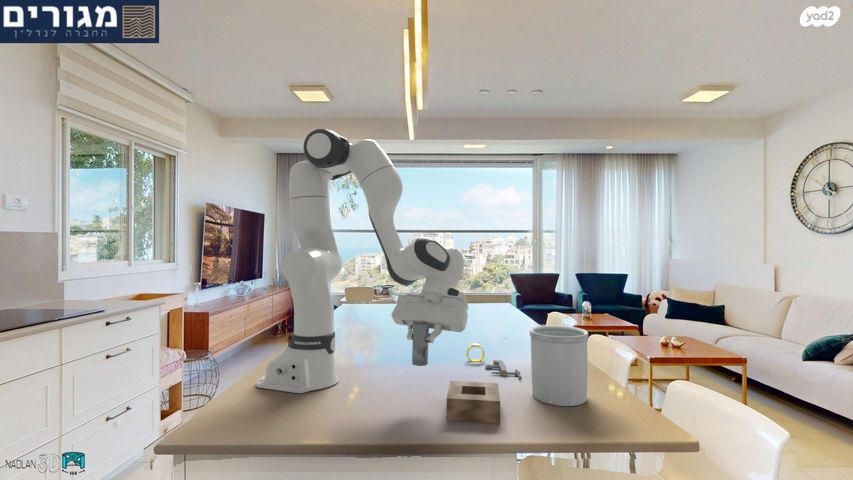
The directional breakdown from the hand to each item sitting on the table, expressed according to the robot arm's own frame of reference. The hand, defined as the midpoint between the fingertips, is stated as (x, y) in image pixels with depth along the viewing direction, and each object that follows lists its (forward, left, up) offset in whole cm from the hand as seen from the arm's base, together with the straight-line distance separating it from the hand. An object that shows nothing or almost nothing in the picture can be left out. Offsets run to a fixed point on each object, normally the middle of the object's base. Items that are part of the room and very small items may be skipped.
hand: (419, 340), depth 102 cm
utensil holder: (+36, +11, -16) cm, 41 cm away
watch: (+14, +41, -16) cm, 46 cm away
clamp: (+22, +30, -17) cm, 41 cm away
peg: (0, +1, -6) cm, 6 cm away
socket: (+14, -2, -16) cm, 21 cm away
